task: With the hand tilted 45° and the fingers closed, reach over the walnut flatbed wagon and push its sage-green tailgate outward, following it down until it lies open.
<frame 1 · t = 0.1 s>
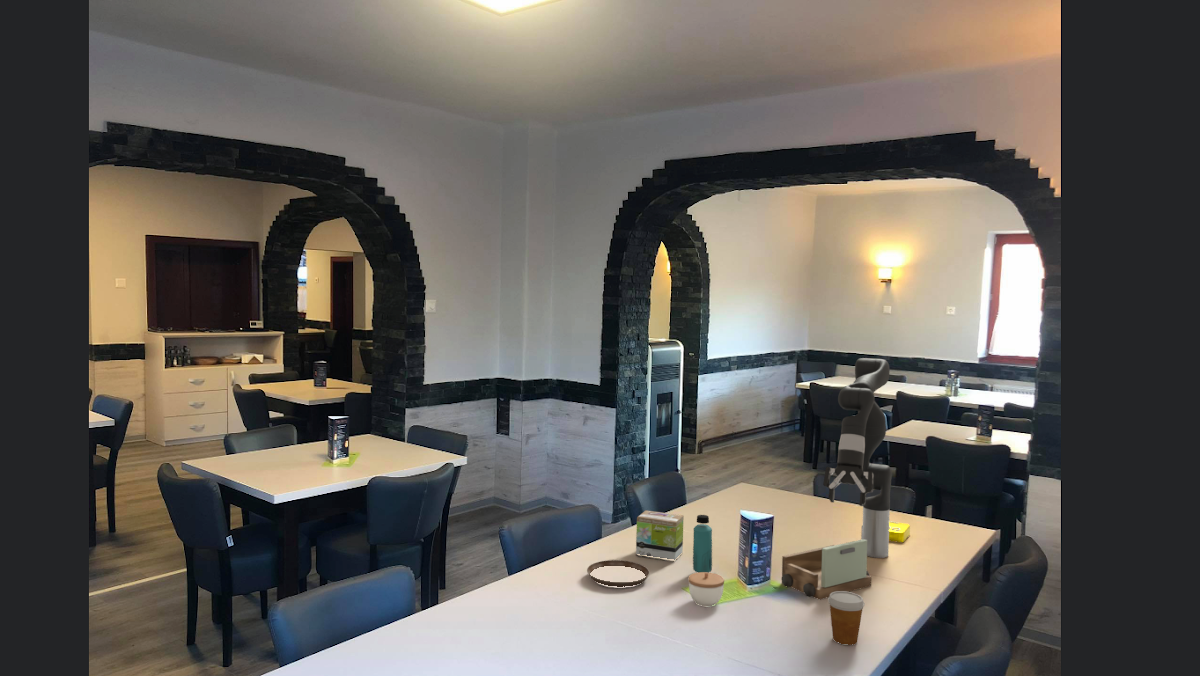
hand: (846, 503, 229), 31 cm above the table, tool tilted 20°, fingers open, 8 cm apart
lidded jar: (705, 603, 232), on the table
flatbed: (845, 592, 242), on the table
tailgate: (845, 563, 242), point 9 cm above the table, hinge at 0.0°
beverage bottle: (702, 574, 256), on the table
disposable coffee cup: (845, 641, 207), on the table
tea box: (659, 556, 275), on the table
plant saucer: (618, 580, 251), on the table
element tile: (887, 536, 304), on the table
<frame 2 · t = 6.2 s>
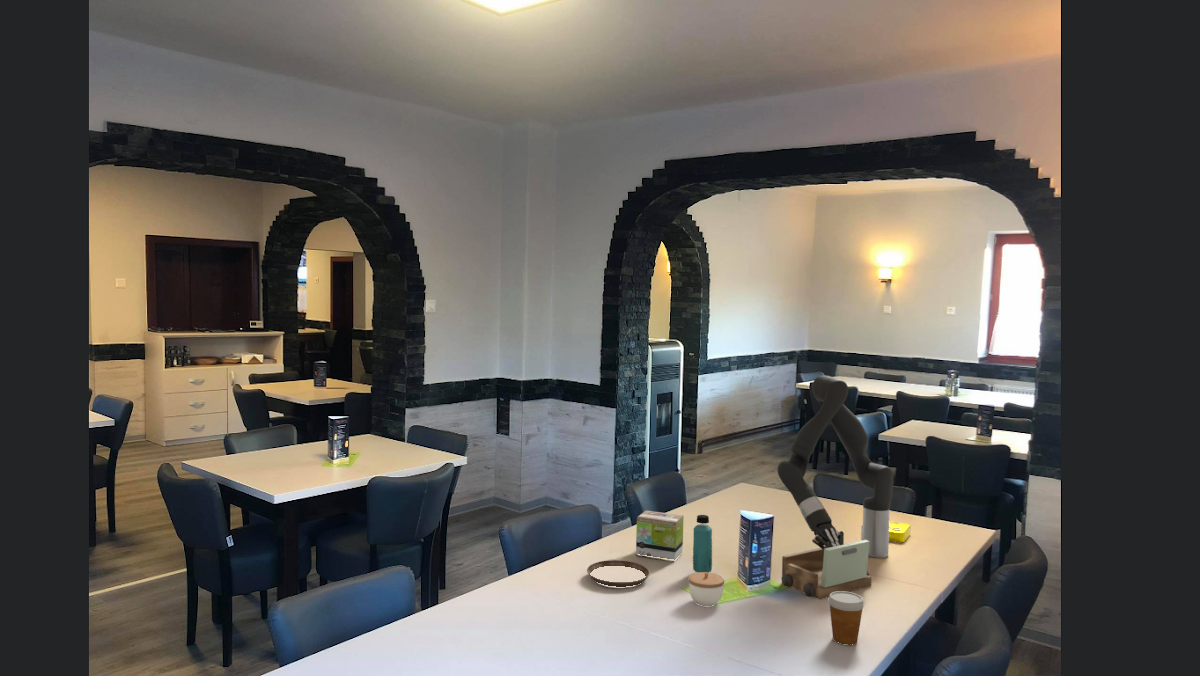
hand: (842, 561, 243), 10 cm above the table, tool tilted 45°, fingers closed
tailgate: (846, 563, 241), point 9 cm above the table, hinge at 4.2°, touching gripper
everything else where it was.
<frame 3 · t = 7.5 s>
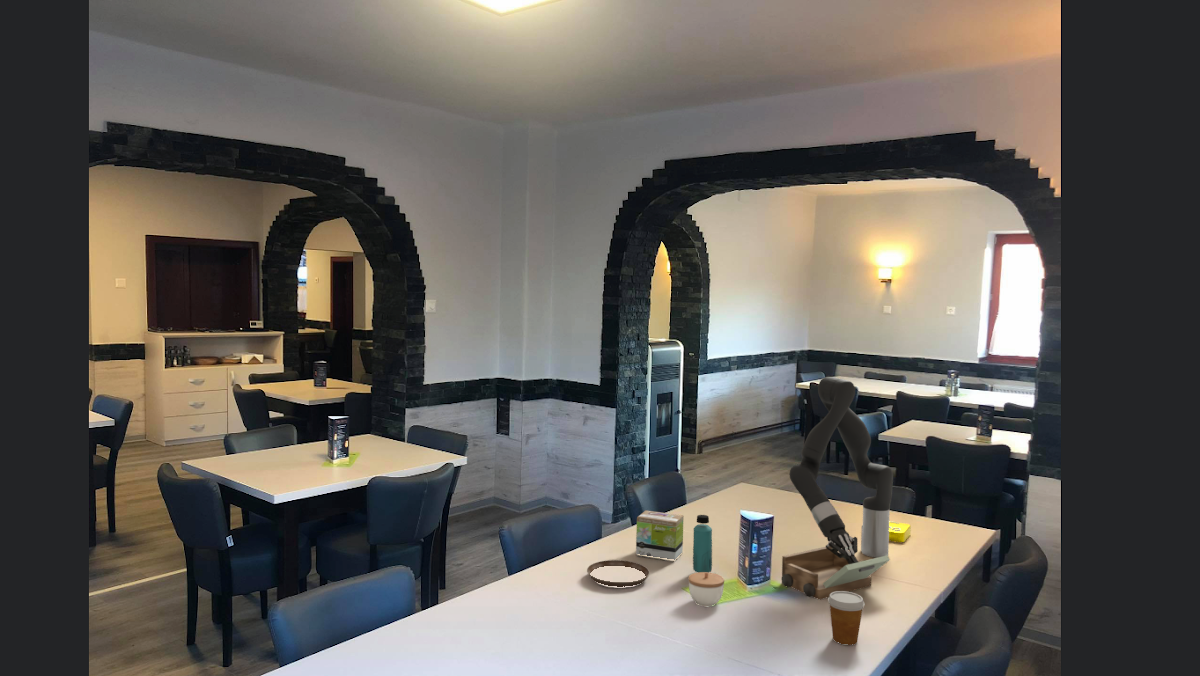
hand: (856, 567, 238), 9 cm above the table, tool tilted 45°, fingers closed
tailgate: (857, 572, 238), point 8 cm above the table, hinge at 45.9°, touching gripper
everything else where it was.
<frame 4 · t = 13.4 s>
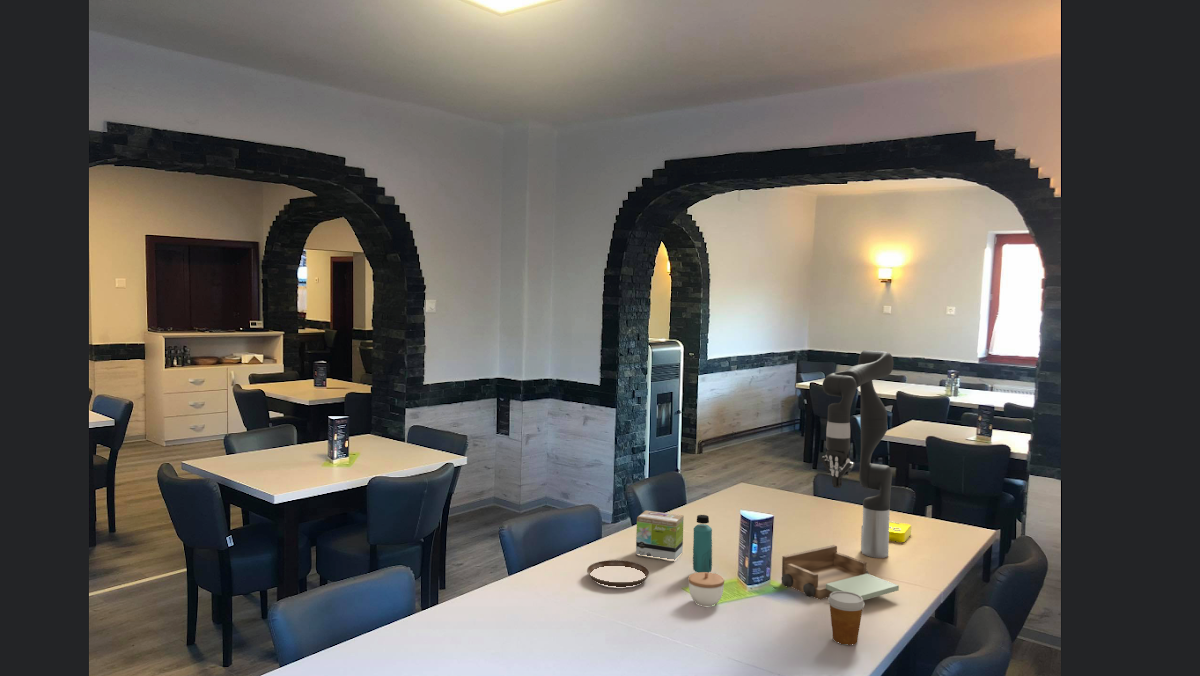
hand: (836, 487, 251), 31 cm above the table, tool pointing down, fingers closed
tailgate: (862, 588, 236), point 3 cm above the table, hinge at 90.1°
everything else where it was.
at the end: tailgate at +90° (first picture: +0°); beverage bottle moved 0.2 cm from its start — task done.
